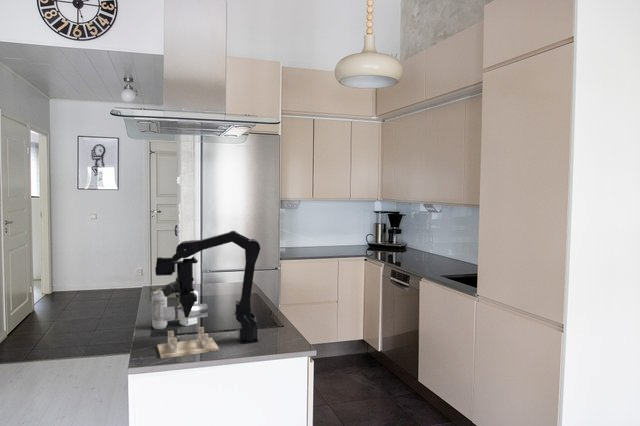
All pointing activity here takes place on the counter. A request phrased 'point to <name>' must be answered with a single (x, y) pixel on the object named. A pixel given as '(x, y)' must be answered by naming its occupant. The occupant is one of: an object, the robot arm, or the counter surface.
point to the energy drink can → (158, 310)
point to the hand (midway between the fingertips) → (185, 315)
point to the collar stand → (187, 345)
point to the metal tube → (178, 312)
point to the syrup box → (191, 320)
